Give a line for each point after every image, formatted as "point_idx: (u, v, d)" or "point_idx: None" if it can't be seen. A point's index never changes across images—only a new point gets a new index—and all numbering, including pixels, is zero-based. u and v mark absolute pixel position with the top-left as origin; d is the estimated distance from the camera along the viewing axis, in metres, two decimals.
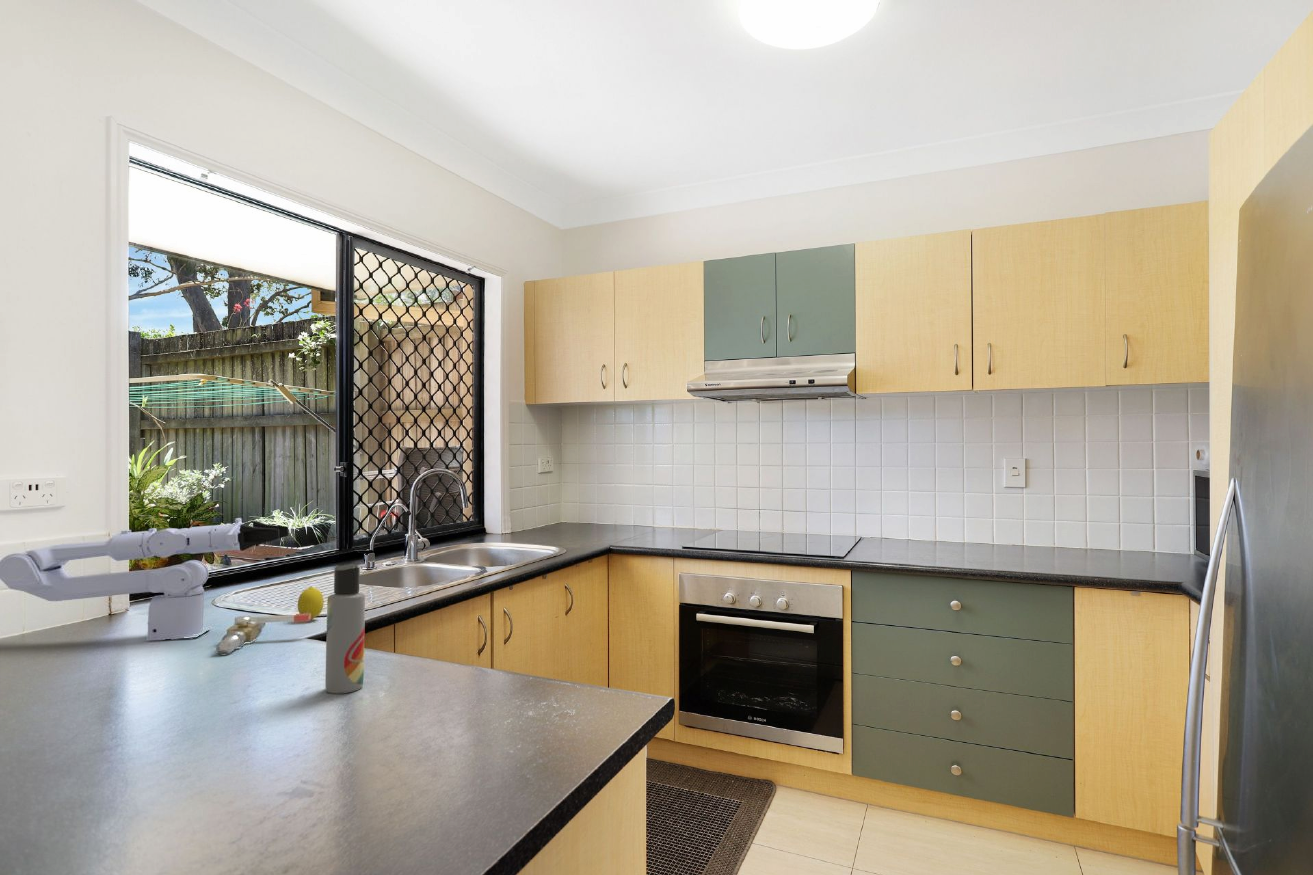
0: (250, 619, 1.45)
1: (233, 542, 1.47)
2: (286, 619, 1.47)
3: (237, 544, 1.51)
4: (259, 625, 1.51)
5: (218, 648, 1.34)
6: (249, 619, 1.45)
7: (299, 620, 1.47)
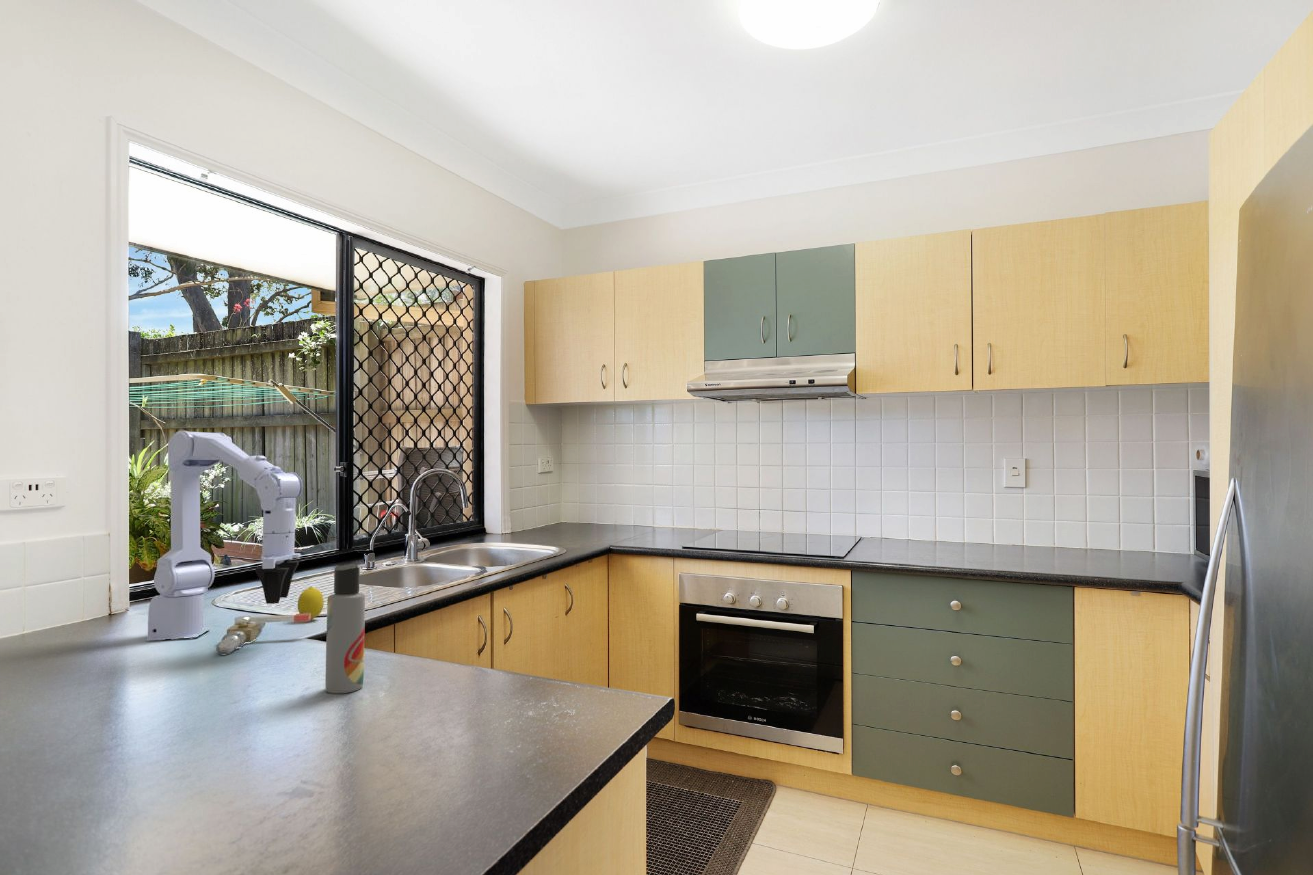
0: (250, 619, 1.45)
1: (263, 565, 1.34)
2: (286, 619, 1.47)
3: None
4: (259, 625, 1.51)
5: (218, 648, 1.34)
6: (249, 619, 1.45)
7: (299, 620, 1.47)
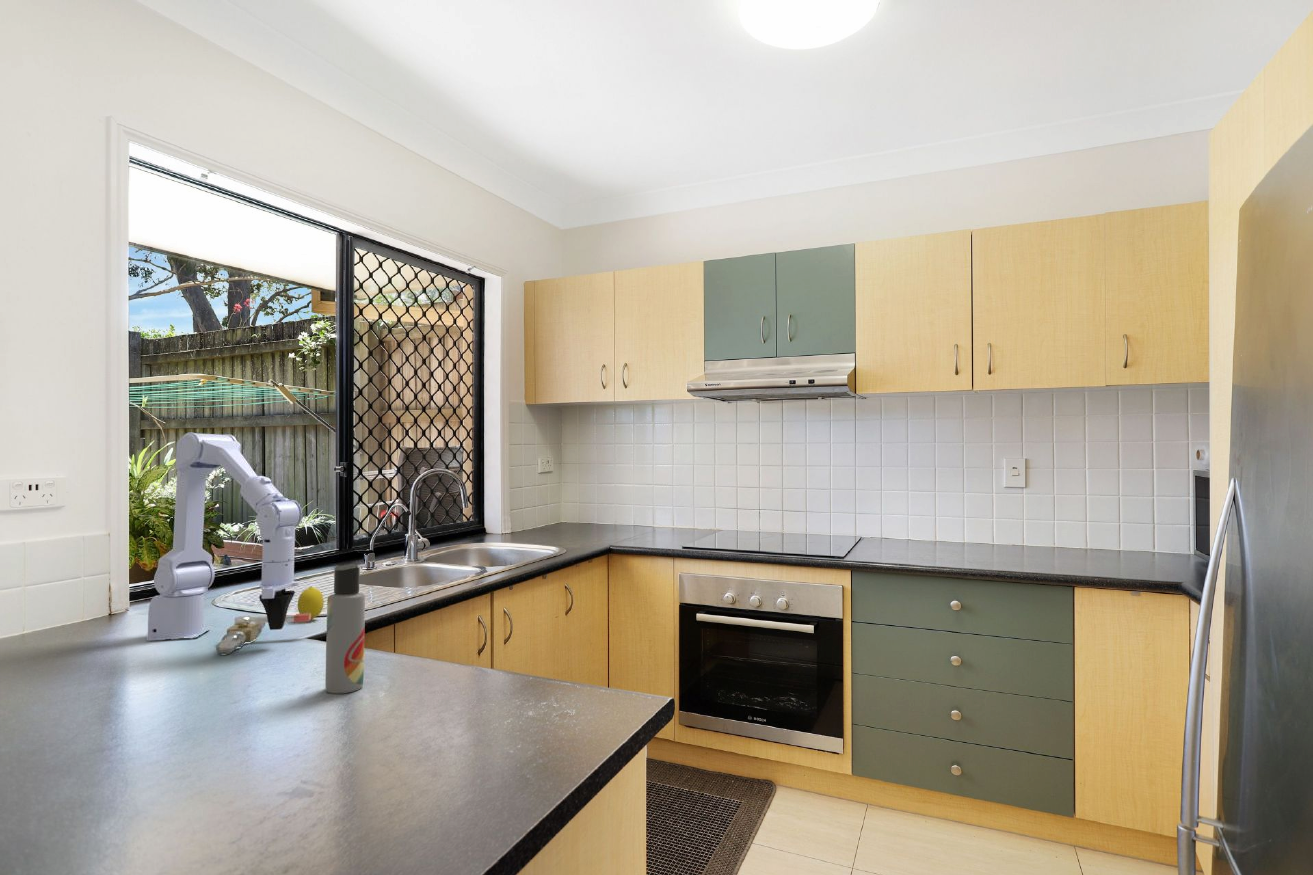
0: (250, 619, 1.45)
1: (262, 595, 1.34)
2: (286, 619, 1.47)
3: None
4: (259, 625, 1.51)
5: (218, 648, 1.34)
6: (249, 619, 1.45)
7: (299, 620, 1.47)
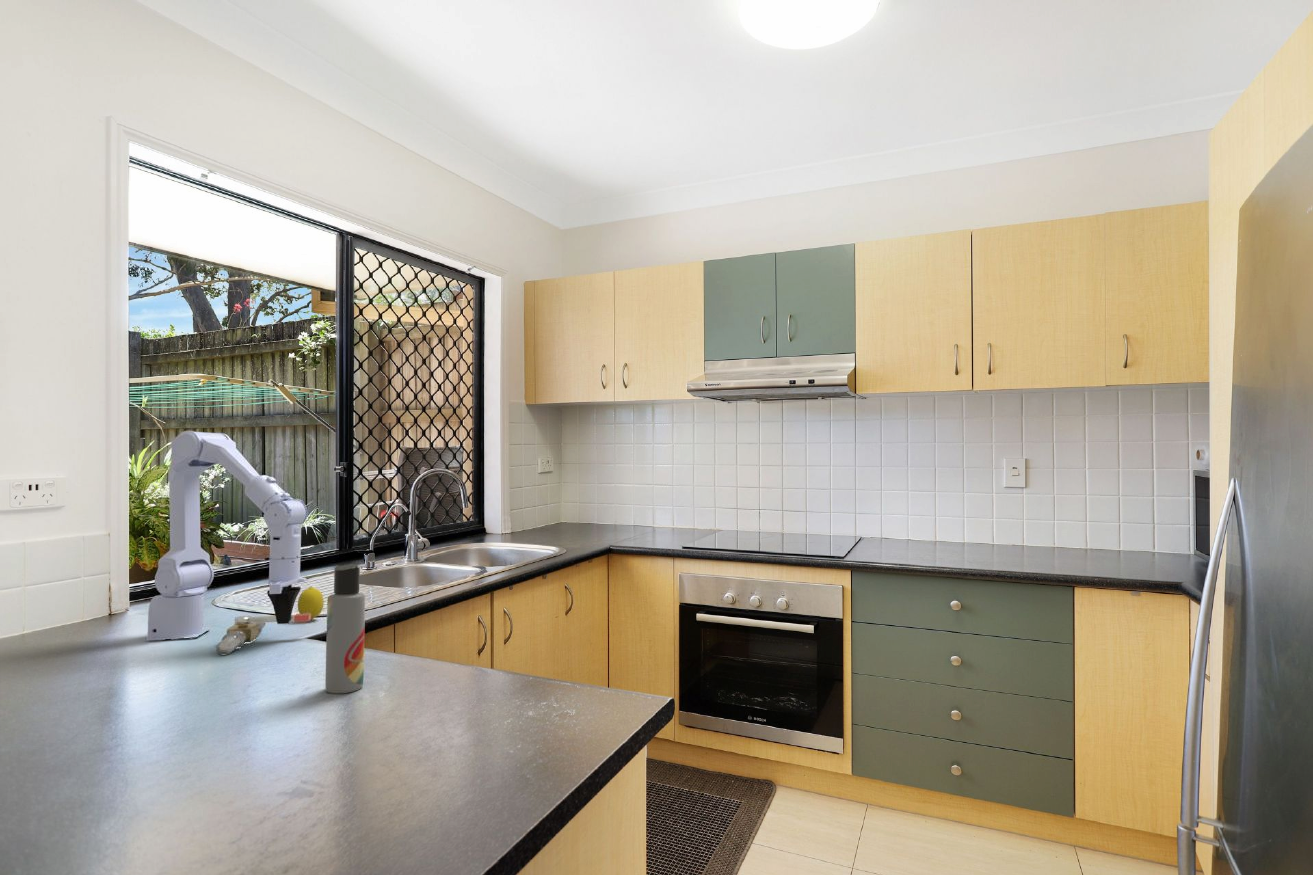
0: (250, 619, 1.45)
1: (270, 591, 1.39)
2: None
3: None
4: (259, 625, 1.51)
5: (218, 648, 1.34)
6: (249, 619, 1.45)
7: (299, 620, 1.47)
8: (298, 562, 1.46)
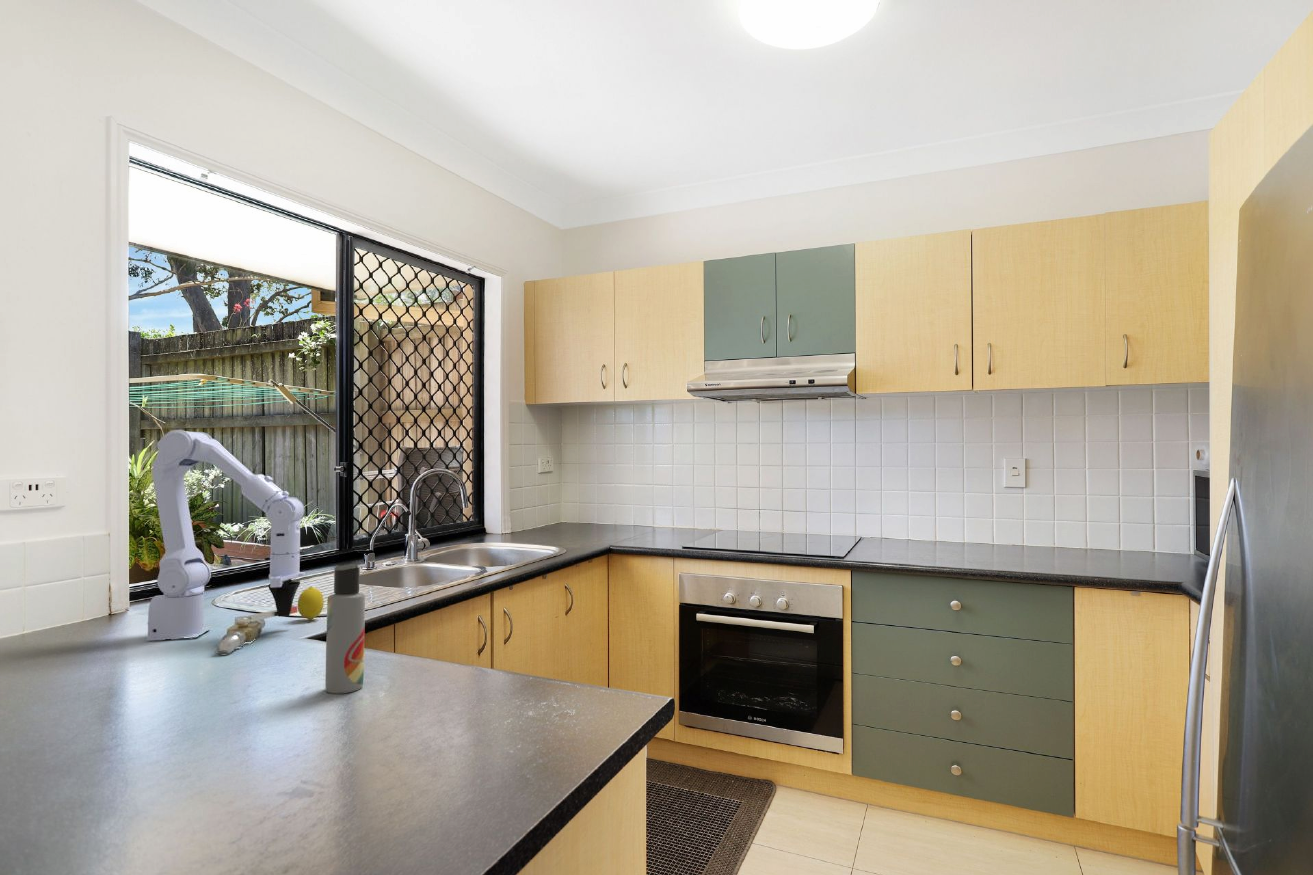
0: (252, 617, 1.46)
1: (271, 584, 1.46)
2: None
3: None
4: (259, 625, 1.51)
5: (218, 648, 1.34)
6: (252, 617, 1.46)
7: (290, 612, 1.55)
8: (297, 557, 1.53)
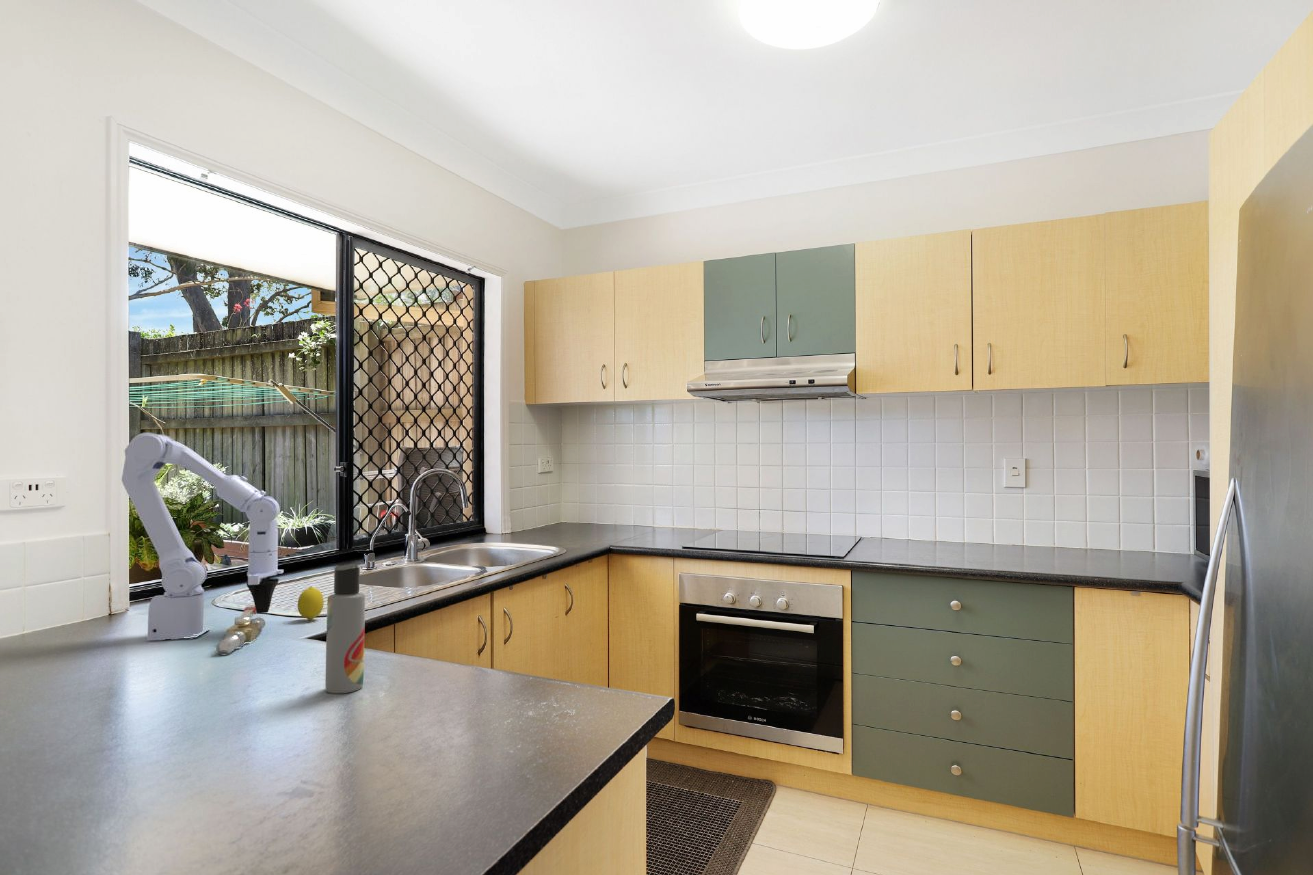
0: None
1: (249, 582, 1.49)
2: (253, 612, 1.53)
3: None
4: (259, 625, 1.51)
5: (218, 648, 1.34)
6: None
7: (256, 612, 1.56)
8: (275, 555, 1.56)
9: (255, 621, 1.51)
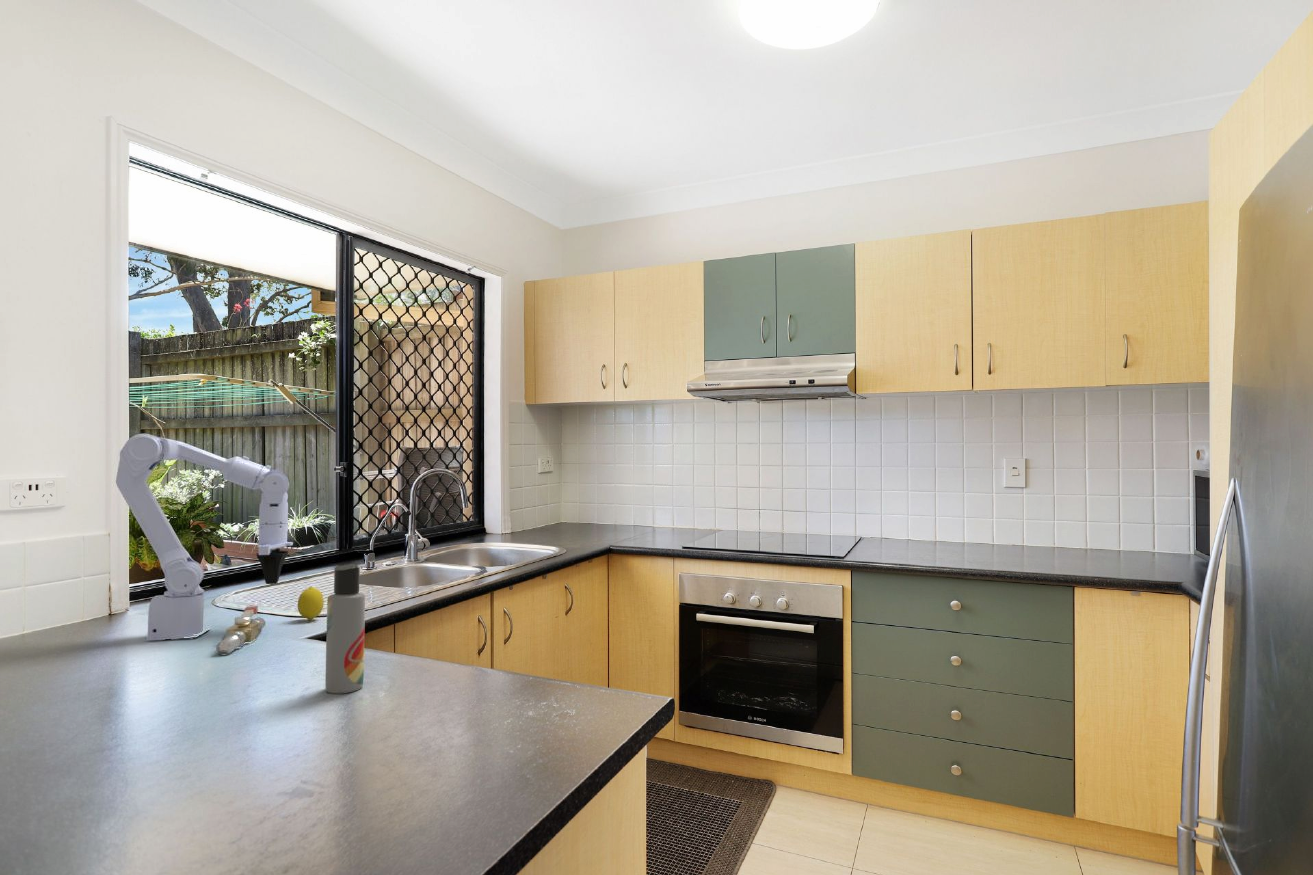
0: None
1: (259, 552, 1.52)
2: (253, 612, 1.53)
3: None
4: (259, 625, 1.51)
5: (218, 648, 1.34)
6: None
7: (256, 612, 1.56)
8: (285, 527, 1.59)
9: (255, 621, 1.51)
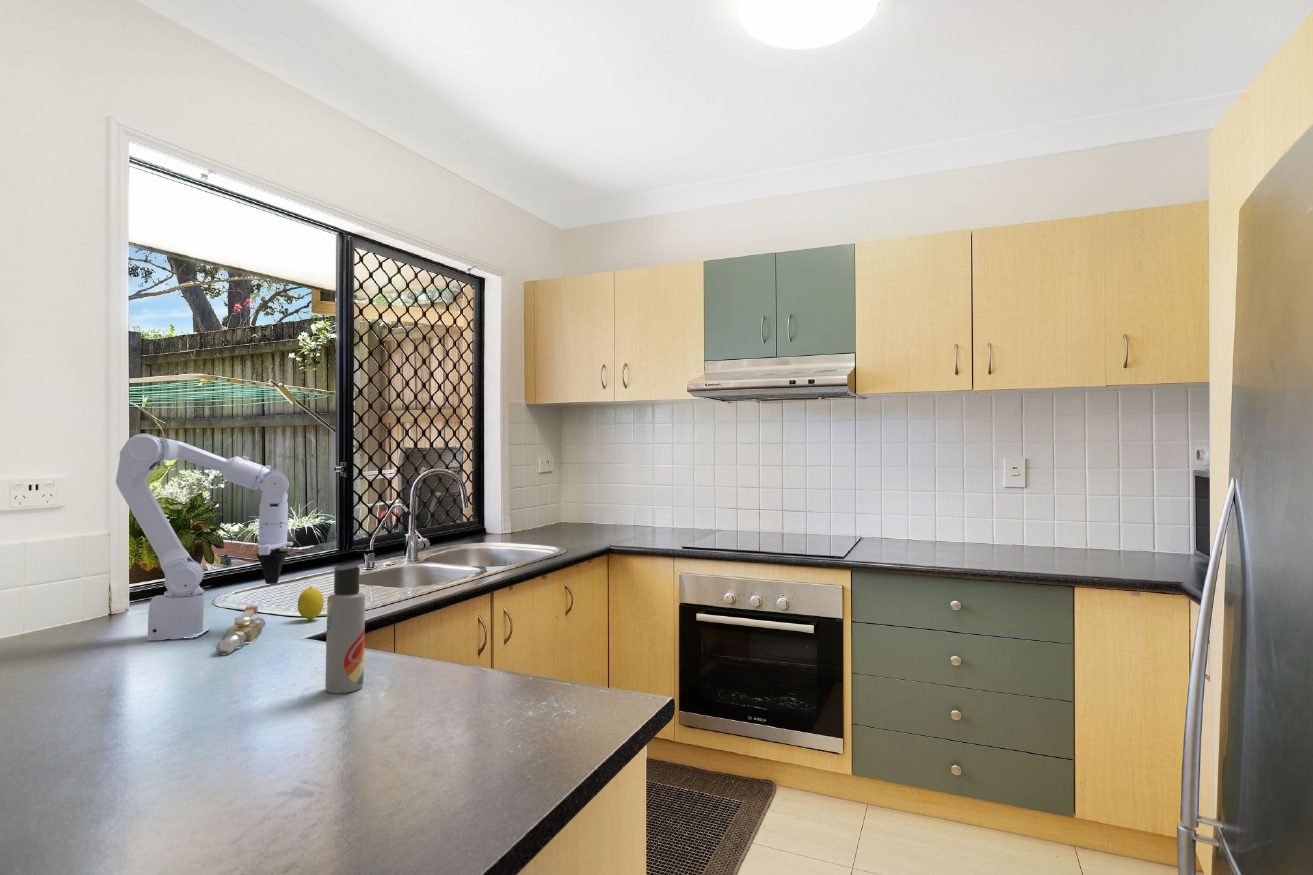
0: None
1: (259, 552, 1.52)
2: (253, 612, 1.53)
3: None
4: (259, 625, 1.51)
5: (218, 648, 1.34)
6: None
7: (256, 612, 1.56)
8: (285, 527, 1.59)
9: (255, 621, 1.51)
